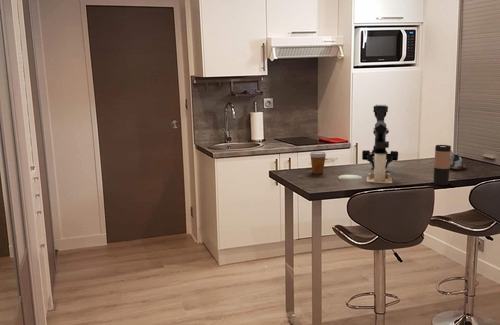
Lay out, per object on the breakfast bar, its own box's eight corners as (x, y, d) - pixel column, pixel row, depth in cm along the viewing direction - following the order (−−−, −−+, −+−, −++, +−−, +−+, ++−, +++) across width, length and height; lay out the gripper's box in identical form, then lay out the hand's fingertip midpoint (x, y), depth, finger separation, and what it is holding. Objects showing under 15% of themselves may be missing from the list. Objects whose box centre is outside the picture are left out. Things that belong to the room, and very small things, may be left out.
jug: (373, 178, 258) (374, 153, 255) (384, 178, 256) (386, 153, 253) (373, 181, 250) (374, 155, 247) (385, 182, 248) (386, 156, 245)
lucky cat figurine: (466, 170, 280) (458, 150, 275) (445, 176, 285) (437, 157, 280) (462, 158, 293) (454, 140, 288) (442, 165, 298) (434, 146, 293)
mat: (334, 177, 266) (334, 175, 265) (354, 175, 270) (354, 173, 270) (346, 182, 254) (346, 180, 253) (366, 180, 258) (367, 178, 258)
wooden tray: (366, 178, 262) (367, 172, 261) (391, 179, 259) (391, 173, 258) (366, 183, 250) (366, 177, 249) (392, 185, 246) (392, 178, 246)
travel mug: (430, 182, 252) (432, 144, 248) (444, 181, 252) (446, 144, 249) (437, 185, 244) (439, 147, 240) (451, 184, 245) (454, 146, 241)
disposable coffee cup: (315, 175, 273) (316, 154, 271) (306, 172, 281) (306, 152, 279) (329, 173, 277) (329, 153, 275) (319, 170, 286) (319, 150, 283)
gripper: (362, 135, 256) (361, 159, 247) (398, 136, 251) (399, 160, 243) (362, 147, 265) (361, 171, 256) (397, 148, 260) (397, 172, 252)
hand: (379, 168), depth 251 cm, fingers closed on jug, 6 cm apart
